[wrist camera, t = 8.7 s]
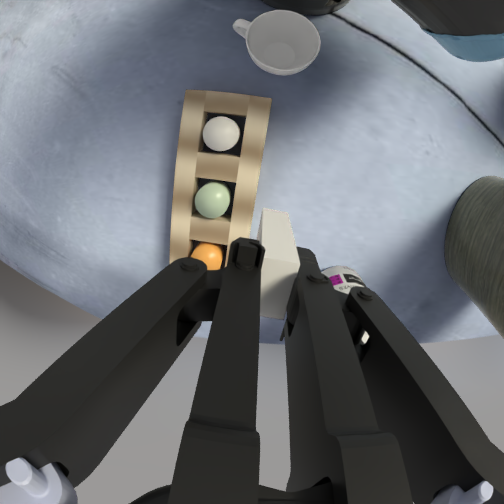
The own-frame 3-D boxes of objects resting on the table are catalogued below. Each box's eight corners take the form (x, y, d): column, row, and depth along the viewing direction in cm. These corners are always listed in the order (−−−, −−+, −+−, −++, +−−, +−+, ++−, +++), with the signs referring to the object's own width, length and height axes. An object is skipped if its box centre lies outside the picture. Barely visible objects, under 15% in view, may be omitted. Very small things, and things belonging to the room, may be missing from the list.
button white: (210, 116, 31) (205, 114, 28) (243, 120, 32) (241, 118, 28) (206, 147, 33) (200, 148, 30) (238, 151, 33) (235, 153, 30)
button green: (202, 178, 35) (196, 183, 31) (233, 182, 35) (230, 187, 32) (199, 208, 36) (193, 215, 33) (229, 212, 36) (226, 220, 33)
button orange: (196, 236, 38) (190, 246, 35) (225, 240, 38) (222, 251, 35) (194, 262, 39) (188, 274, 36) (222, 267, 40) (219, 279, 36)
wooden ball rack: (191, 92, 31) (185, 89, 28) (271, 101, 31) (272, 98, 28) (174, 275, 41) (169, 286, 38) (240, 286, 41) (239, 297, 39)
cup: (291, 93, 30) (298, 84, 24) (221, 57, 29) (212, 42, 22) (321, 48, 28) (333, 32, 21) (252, 14, 26) (250, -8, 20)
